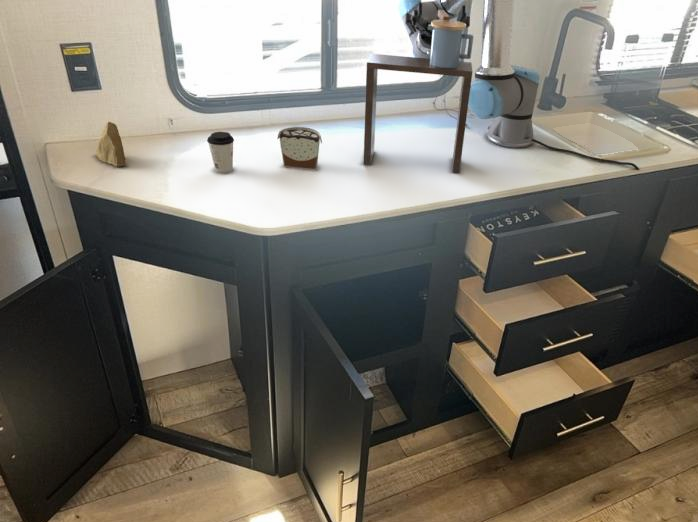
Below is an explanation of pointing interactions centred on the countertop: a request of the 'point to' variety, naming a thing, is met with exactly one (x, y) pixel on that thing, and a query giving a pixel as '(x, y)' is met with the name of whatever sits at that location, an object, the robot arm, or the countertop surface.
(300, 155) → the food container
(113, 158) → the rock
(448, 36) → the jug
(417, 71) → the riser
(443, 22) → the lid
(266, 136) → the countertop surface
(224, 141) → the coffee cup
